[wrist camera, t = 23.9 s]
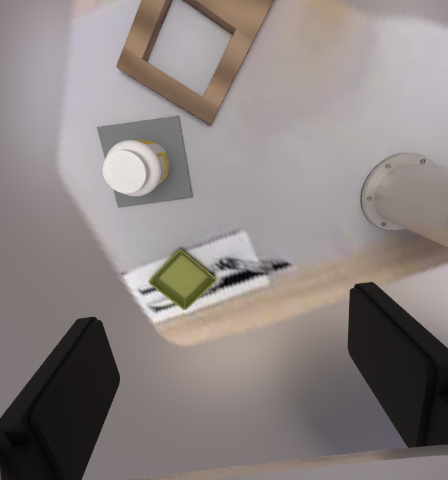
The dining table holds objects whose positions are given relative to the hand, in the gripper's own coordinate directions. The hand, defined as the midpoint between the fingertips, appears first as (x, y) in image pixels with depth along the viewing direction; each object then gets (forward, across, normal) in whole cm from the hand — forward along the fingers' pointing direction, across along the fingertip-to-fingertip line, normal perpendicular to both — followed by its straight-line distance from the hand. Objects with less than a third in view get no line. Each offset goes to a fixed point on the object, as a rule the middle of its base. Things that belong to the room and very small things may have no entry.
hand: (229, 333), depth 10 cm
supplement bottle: (+35, +10, -5) cm, 37 cm away
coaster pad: (+36, +10, -5) cm, 38 cm away
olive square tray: (+36, +8, +15) cm, 40 cm away
